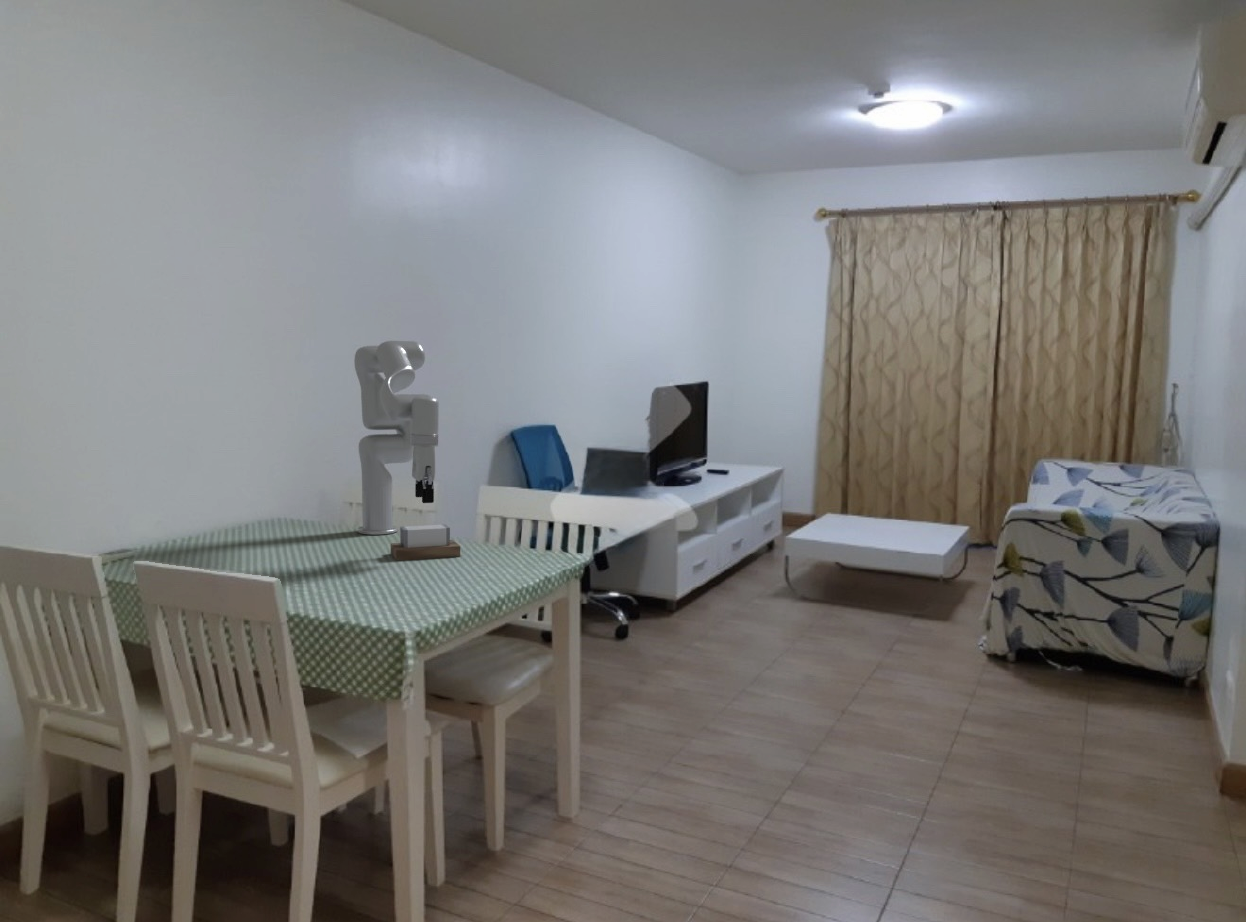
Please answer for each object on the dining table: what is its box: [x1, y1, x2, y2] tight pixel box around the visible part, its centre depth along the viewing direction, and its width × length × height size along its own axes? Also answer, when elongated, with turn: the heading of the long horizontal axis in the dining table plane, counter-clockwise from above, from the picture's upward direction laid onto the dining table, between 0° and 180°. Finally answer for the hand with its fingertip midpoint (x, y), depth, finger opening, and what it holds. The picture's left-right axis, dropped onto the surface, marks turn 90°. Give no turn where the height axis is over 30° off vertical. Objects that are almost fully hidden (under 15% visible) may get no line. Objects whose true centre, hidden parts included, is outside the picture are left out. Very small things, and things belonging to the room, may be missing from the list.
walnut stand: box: [390, 539, 461, 561], centre depth 276 cm, size 10×18×3 cm, turn 113°
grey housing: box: [399, 524, 451, 548], centre depth 276 cm, size 6×13×5 cm, turn 113°
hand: (424, 499), depth 275 cm, fingers open, 9 cm apart
